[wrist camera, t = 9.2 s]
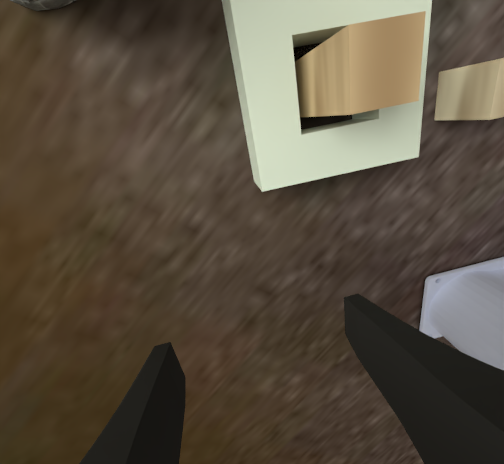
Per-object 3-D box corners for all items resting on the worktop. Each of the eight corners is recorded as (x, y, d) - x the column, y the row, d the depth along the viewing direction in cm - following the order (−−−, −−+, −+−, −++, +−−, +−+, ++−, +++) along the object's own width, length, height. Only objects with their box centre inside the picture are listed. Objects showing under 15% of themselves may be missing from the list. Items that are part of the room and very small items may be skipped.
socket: (394, -29, 15) (437, -63, 12) (387, 152, 19) (418, 156, 16) (221, 0, 14) (225, -30, 11) (254, 181, 18) (262, 191, 15)
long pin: (338, 55, 16) (425, 11, 10) (340, 108, 17) (418, 100, 11) (291, 64, 16) (348, 24, 9) (296, 117, 17) (350, 114, 11)
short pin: (479, 63, 17) (551, 48, 14) (472, 112, 19) (536, 109, 15) (438, 72, 17) (500, 58, 14) (434, 120, 18) (489, 119, 15)
